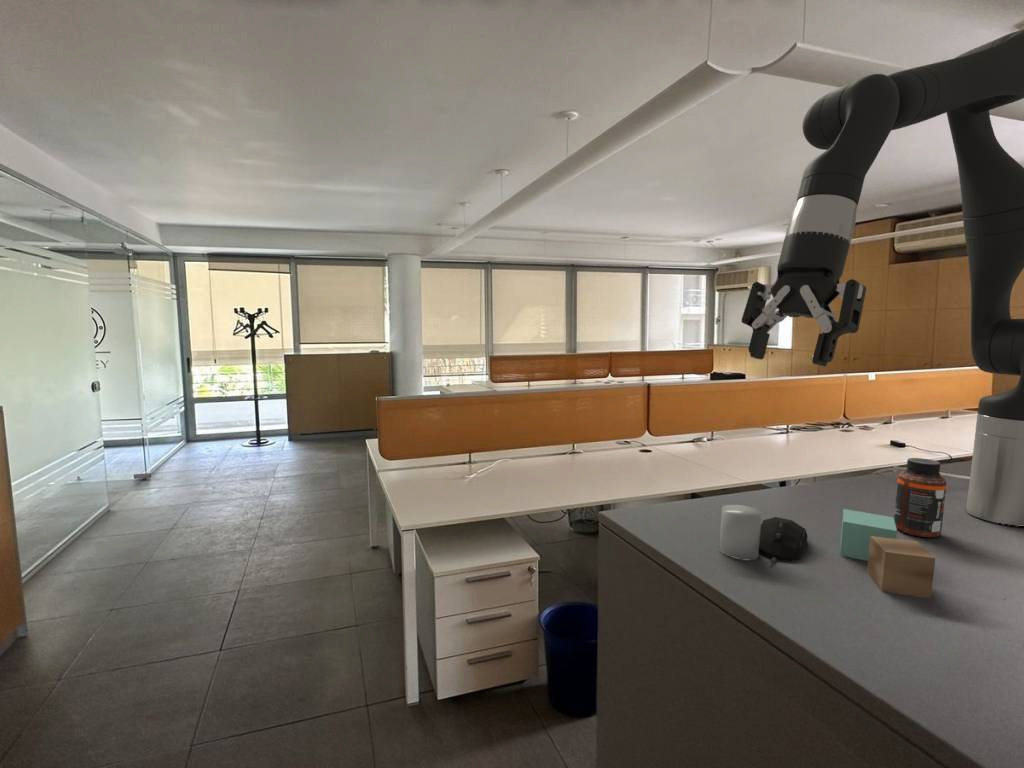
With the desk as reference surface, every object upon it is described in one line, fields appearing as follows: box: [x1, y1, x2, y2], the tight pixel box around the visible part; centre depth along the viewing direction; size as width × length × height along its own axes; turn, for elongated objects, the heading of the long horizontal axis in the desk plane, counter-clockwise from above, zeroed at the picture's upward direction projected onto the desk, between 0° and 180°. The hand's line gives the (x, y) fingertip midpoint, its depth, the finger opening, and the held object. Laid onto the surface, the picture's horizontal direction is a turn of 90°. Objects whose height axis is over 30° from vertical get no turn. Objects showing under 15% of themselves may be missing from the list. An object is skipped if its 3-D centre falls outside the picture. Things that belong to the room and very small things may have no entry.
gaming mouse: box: [759, 516, 809, 569], centre depth 75 cm, size 6×15×4 cm, turn 146°
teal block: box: [839, 508, 898, 562], centre depth 74 cm, size 6×6×5 cm
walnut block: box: [866, 536, 936, 599], centre depth 64 cm, size 5×5×5 cm
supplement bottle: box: [893, 457, 947, 539], centre depth 81 cm, size 6×6×11 cm
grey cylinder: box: [719, 504, 762, 561], centre depth 73 cm, size 5×5×6 cm
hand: (785, 361), depth 68 cm, fingers open, 8 cm apart
